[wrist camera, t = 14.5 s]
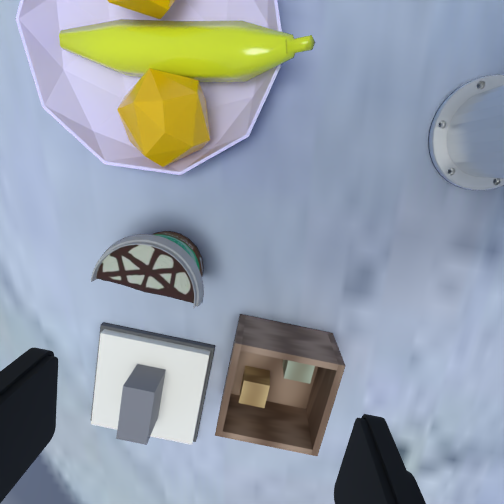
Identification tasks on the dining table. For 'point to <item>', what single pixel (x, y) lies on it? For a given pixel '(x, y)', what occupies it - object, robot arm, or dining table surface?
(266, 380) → the ochre block
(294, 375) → the sage block
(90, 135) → the fruit bowl
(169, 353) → the lid
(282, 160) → the dining table surface
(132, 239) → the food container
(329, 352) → the storage box
